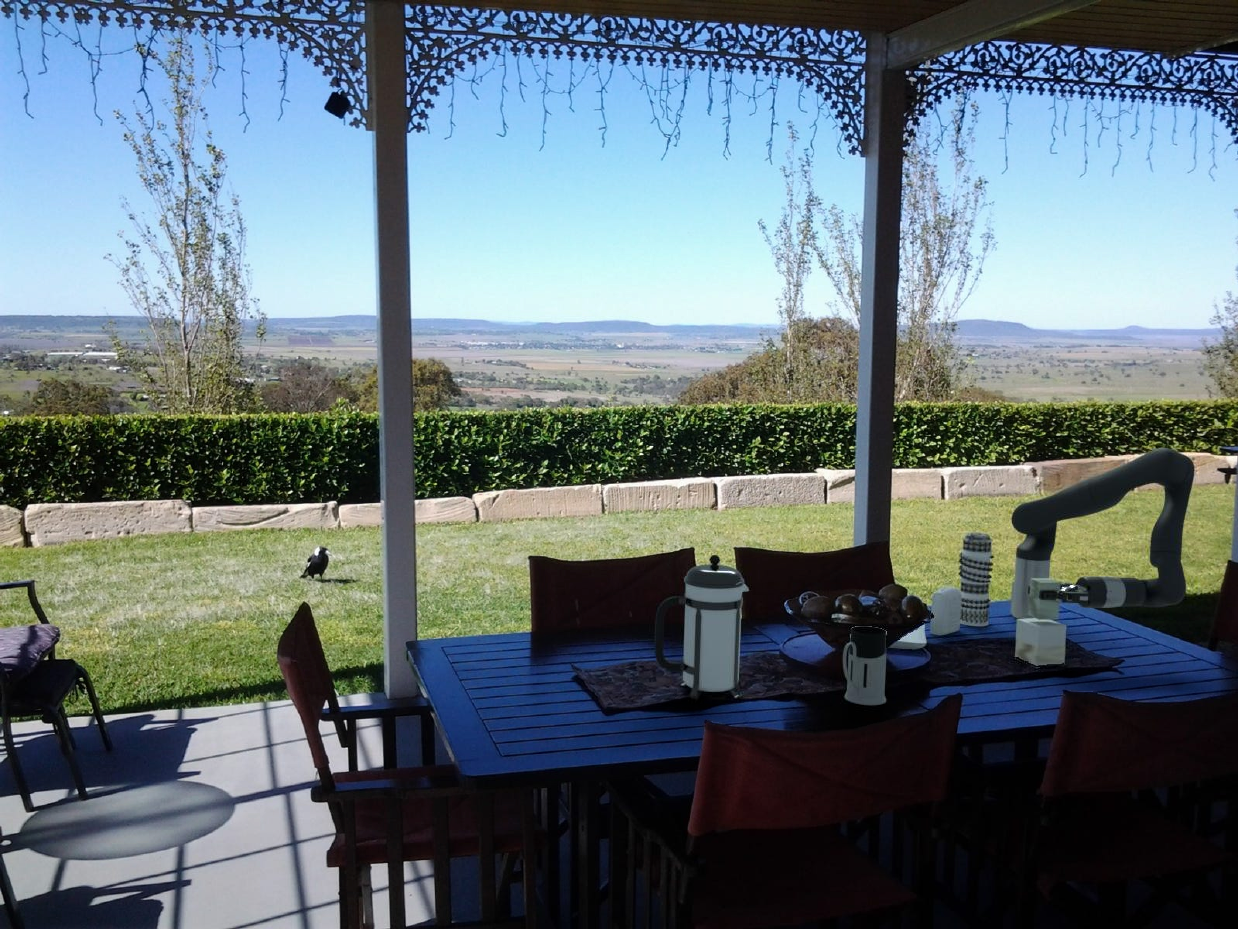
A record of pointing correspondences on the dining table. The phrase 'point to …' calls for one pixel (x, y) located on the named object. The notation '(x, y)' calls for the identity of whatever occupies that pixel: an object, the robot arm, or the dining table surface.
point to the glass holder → (866, 665)
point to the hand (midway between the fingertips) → (1034, 592)
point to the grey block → (1041, 632)
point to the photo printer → (946, 611)
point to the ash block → (1040, 654)
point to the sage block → (1043, 607)
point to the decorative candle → (975, 579)
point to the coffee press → (707, 629)
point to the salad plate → (912, 640)
